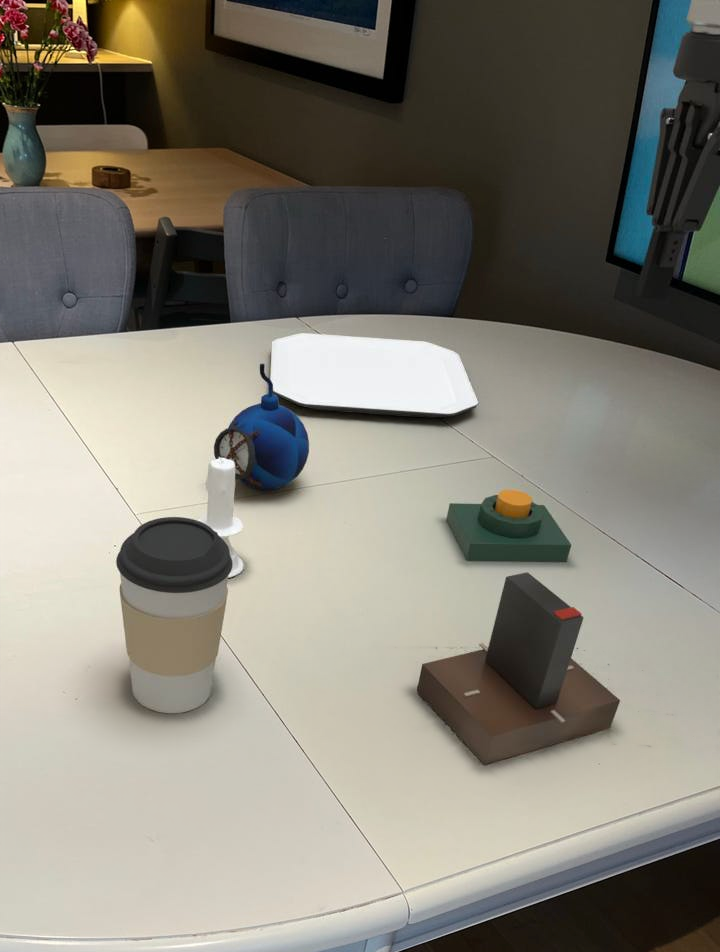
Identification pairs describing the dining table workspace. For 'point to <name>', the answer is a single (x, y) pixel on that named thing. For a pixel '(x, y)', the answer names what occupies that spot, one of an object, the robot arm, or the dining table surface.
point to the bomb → (265, 443)
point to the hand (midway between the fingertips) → (650, 295)
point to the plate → (370, 375)
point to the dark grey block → (533, 639)
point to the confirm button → (513, 504)
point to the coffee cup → (173, 610)
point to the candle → (223, 506)
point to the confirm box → (506, 534)
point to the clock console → (511, 707)
